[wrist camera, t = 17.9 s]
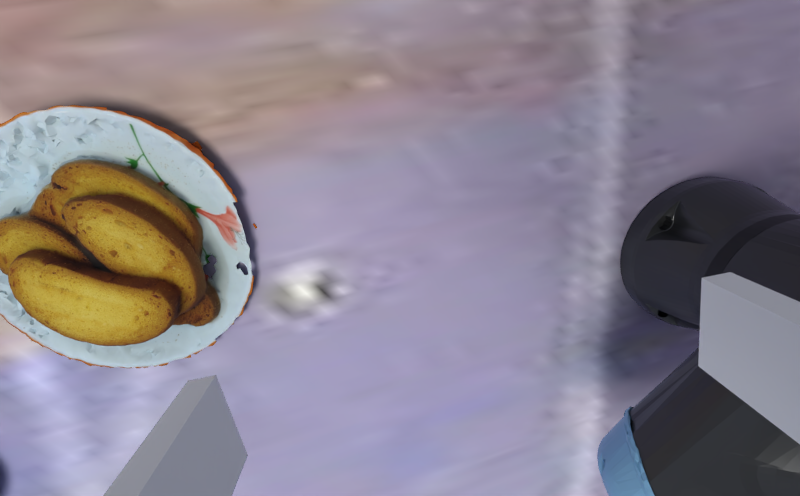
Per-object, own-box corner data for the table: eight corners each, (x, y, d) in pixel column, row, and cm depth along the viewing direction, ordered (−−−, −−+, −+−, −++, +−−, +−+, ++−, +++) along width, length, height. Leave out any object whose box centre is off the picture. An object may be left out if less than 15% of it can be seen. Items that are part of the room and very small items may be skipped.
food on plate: (193, 72, 35) (153, 62, 28) (295, 320, 42) (281, 355, 36) (-79, 155, 35) (-176, 163, 29) (69, 384, 43) (17, 428, 37)
